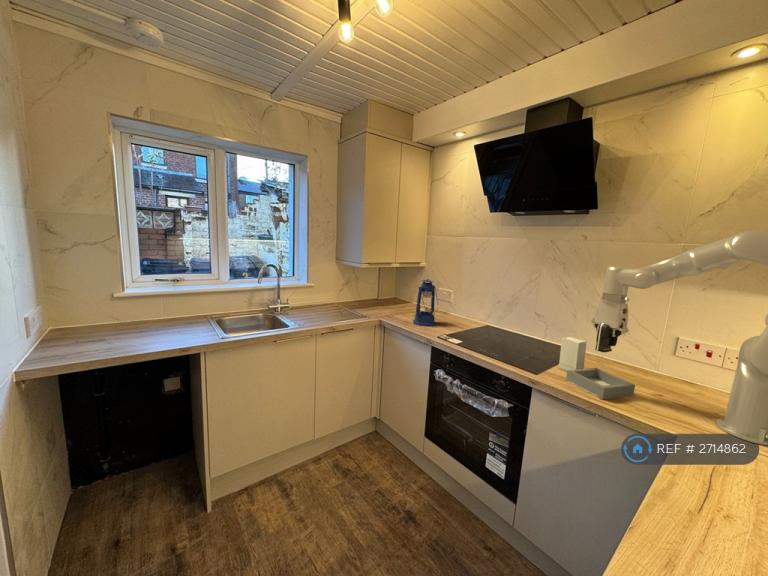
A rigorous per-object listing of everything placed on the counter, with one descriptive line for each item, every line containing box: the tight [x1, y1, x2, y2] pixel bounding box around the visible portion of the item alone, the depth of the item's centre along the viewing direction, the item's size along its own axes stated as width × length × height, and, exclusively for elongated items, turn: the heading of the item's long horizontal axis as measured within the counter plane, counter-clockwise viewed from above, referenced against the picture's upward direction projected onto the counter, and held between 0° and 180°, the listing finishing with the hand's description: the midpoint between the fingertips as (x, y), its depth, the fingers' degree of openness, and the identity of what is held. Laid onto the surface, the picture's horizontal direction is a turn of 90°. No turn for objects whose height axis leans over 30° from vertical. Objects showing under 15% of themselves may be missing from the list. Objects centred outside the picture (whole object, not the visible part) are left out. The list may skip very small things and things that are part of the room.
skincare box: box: [558, 336, 588, 372], centre depth 139 cm, size 8×6×15 cm
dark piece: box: [595, 323, 613, 353], centre depth 121 cm, size 7×4×11 cm, turn 115°
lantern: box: [412, 279, 439, 328], centre depth 205 cm, size 17×15×30 cm
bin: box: [565, 367, 636, 400], centre depth 124 cm, size 16×16×4 cm
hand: (605, 343), depth 121 cm, fingers closed on dark piece, 4 cm apart
